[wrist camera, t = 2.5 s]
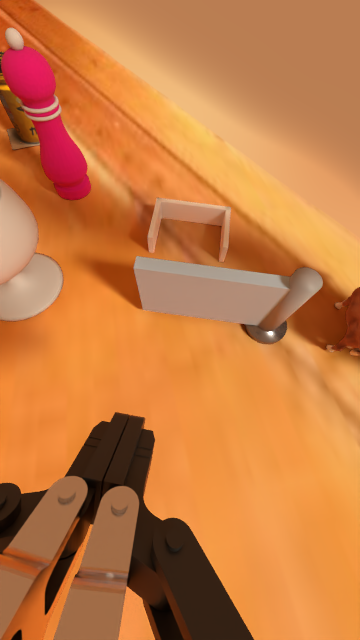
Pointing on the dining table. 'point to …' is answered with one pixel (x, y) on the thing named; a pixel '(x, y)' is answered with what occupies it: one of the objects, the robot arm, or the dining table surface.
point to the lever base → (266, 333)
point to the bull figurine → (350, 325)
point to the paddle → (223, 292)
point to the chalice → (23, 262)
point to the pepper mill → (45, 116)
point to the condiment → (17, 117)
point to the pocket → (190, 219)
